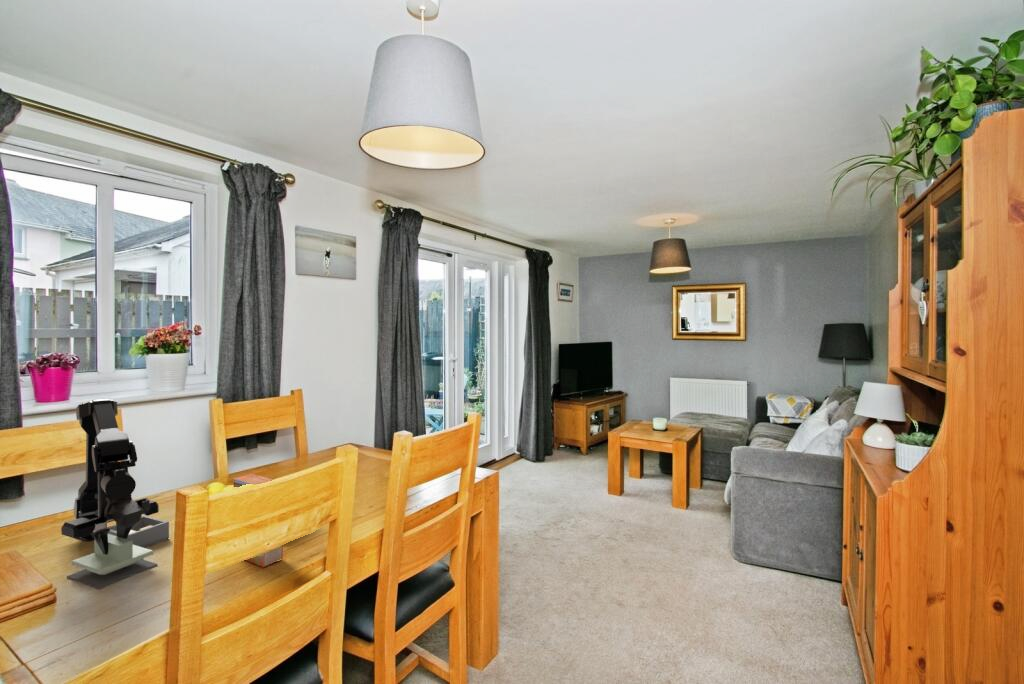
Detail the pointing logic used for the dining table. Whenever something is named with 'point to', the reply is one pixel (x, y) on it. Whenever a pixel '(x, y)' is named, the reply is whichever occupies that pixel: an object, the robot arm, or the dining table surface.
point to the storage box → (146, 531)
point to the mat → (110, 574)
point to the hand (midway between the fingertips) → (113, 551)
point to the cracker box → (272, 554)
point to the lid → (112, 556)
